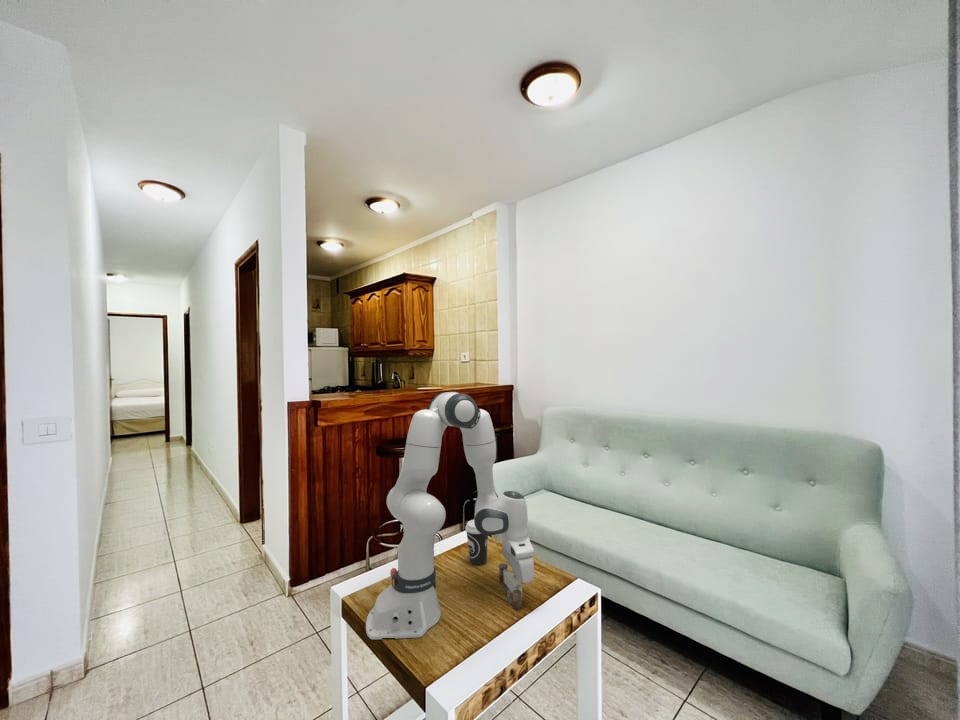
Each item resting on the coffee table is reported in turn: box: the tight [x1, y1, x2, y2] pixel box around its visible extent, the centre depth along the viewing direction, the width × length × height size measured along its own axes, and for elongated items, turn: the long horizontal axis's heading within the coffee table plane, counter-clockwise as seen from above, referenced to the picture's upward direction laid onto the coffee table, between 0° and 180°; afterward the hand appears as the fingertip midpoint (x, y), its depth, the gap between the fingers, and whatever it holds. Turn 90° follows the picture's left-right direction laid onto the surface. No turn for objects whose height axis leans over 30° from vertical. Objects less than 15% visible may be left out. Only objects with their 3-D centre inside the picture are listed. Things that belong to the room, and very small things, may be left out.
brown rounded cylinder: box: [506, 590, 523, 611], centre depth 121 cm, size 4×5×5 cm, turn 13°
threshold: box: [502, 583, 513, 601], centre depth 128 cm, size 2×9×1 cm, turn 12°
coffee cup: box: [464, 519, 489, 567], centre depth 149 cm, size 10×10×15 cm
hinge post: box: [498, 562, 509, 583], centre depth 136 cm, size 3×3×5 cm
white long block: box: [503, 568, 523, 596], centre depth 128 cm, size 12×2×4 cm, turn 19°
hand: (517, 581), depth 128 cm, fingers closed, pressing on white long block
